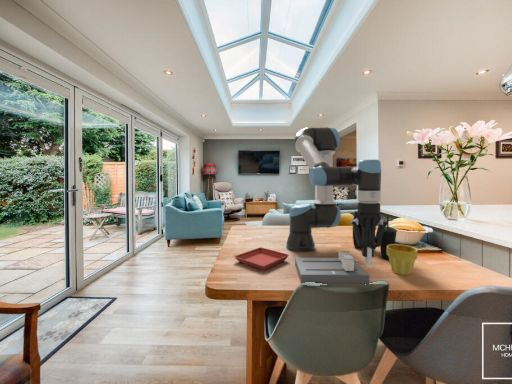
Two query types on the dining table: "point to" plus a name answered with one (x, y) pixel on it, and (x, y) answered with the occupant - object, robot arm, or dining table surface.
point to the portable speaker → (359, 231)
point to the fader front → (348, 262)
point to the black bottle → (387, 240)
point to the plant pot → (402, 258)
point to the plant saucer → (261, 258)
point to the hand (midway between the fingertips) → (367, 265)
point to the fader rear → (343, 252)
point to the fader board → (328, 271)
